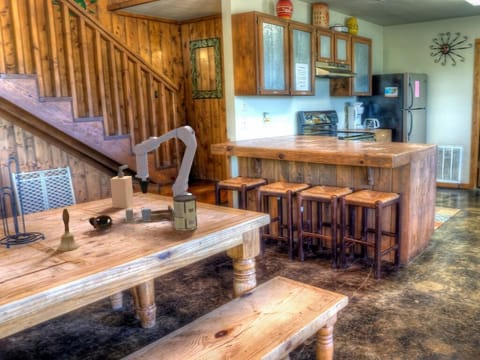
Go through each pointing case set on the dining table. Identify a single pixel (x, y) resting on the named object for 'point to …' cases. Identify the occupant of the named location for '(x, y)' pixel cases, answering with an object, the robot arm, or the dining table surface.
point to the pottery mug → (101, 223)
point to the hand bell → (67, 235)
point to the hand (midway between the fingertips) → (144, 192)
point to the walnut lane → (162, 214)
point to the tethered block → (145, 216)
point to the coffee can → (185, 212)
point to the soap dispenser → (122, 190)
